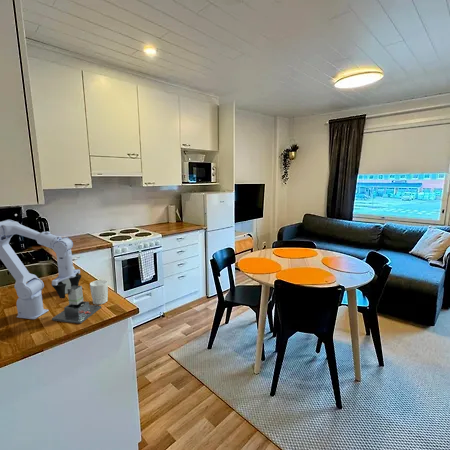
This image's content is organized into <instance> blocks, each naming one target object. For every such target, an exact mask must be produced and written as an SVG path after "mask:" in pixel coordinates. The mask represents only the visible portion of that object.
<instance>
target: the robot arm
mask: <svg viewBox="0 0 450 450" xmlns="http://www.w3.org/2000/svg"><path fill="white" fill-rule="evenodd" d="M14 235H19V236H21V237H25V238H28V239H32V240H35V241H36V242H37V244H38V245H41V246H42V247H46V248H48V249H52V250H53V252H54V253H55V254H56V256H55V257H56V261H57V269H58V276H56V278H54V279H53V280H51V287H52V288H53V289H54V290H55V291H56V293H57V294H58V297H59V299H65V298H66V294H65V287H66V284H63V283H62V282H63V281H65V280H66V279H69V280H70V282H71V287H72V286H74V285H76V286H79V283H80V280H81V278H82V274H81V270H80V268H77V269H76V268H75V270H73V266H74V263H73V254H72V253H73V252H72V248H73V247H74V242H73V240H72V239H71V238H70V237H67V236H64V237H62V236H61V235H55V234H52V233H51V231H49V230H48V231H42V232H39V231H38V230H35V229H32V228H30V227H28V226H25V225H23V224H21V223H19V221H15V220H12V219H5V220H2V221H0V261H1V262H2V263H3V264H4V266H5V267H6V269H7V270H8V272H9V274H11V276H12V277H13V279H14V280H15V283H14V289H15V292H16V295H17V297H18V298H17V300H16V310H17V316H16V318H19V319H29V320H36V319H38V318H39V317H40V316H42V315H44V314H46V313H48V312H49V310H50V309H46V308H44V303H43V295H42V291H43V289H44V287H45V284H44V282H43V280H42V279H40V278H39V277H38V276H37V275H36V274H33V273H30V271H29V270H28V269H27V267H26V266H25V265H24V263H23V261H21V259H20V258H19V256H18V255H17V253H16V252H15V250H14V249H13V248H12V246H11V245H10V241H11V238H12V237H13V236H14Z"/></svg>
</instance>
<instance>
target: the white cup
mask: <svg viewBox="0 0 450 450" xmlns="http://www.w3.org/2000/svg"><path fill="white" fill-rule="evenodd" d="M89 289H90V294H91V299H92V304H93V305H97V306H100V305H102V304H105V303H107V302H108V299H109V298H108V295H109V286H108V280H107V279H97V280H94V281H91V282H90V283H89Z"/></svg>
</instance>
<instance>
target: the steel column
mask: <svg viewBox="0 0 450 450" xmlns="http://www.w3.org/2000/svg"><path fill="white" fill-rule="evenodd" d="M67 295H68V296H67V297H68V305H69V304H74V305H78V304H79V303H81V302H82V301H84V296H83V295H84V294H83V286H82V285H78V286H76V285H74V286H72V287H70V288H68V293H67Z"/></svg>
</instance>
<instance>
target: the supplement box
mask: <svg viewBox="0 0 450 450" xmlns="http://www.w3.org/2000/svg"><path fill="white" fill-rule="evenodd" d="M73 270H76V268H75V266H74V265H73ZM62 283H63V284H66V287H65V295H66V294H67V295H68V288H70V287H71V282H70V280H69V279H66V280H65V281H63V282H62Z"/></svg>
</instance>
